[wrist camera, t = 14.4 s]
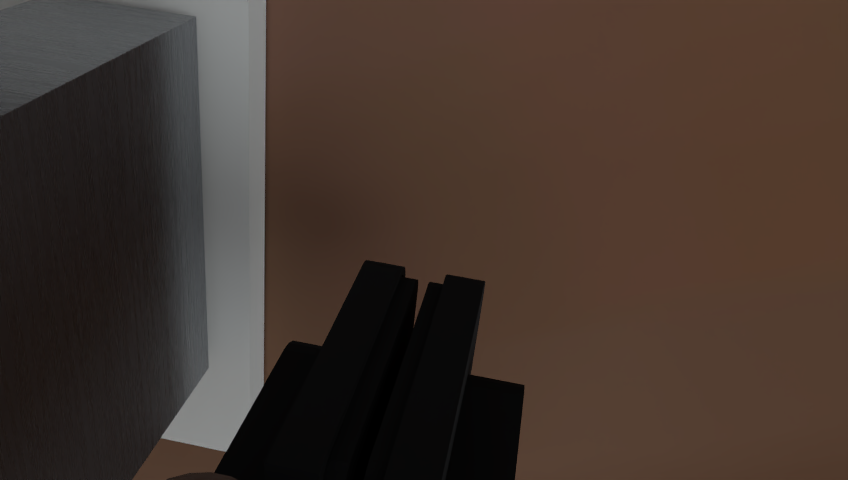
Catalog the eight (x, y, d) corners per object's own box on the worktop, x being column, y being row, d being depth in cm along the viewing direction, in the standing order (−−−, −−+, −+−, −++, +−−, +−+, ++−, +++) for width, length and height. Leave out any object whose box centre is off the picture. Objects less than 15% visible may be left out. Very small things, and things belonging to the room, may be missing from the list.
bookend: (48, -7, 13) (-374, 133, 7) (195, 16, 13) (-123, 180, 7) (92, 344, 16) (-172, 626, 11) (208, 367, 16) (1, 669, 10)
